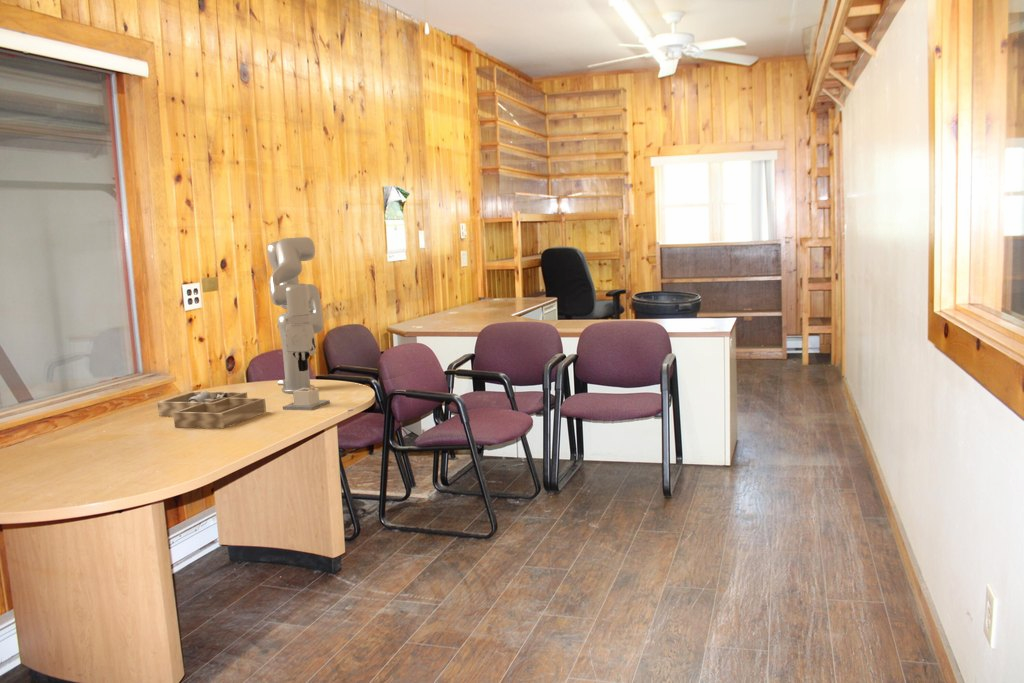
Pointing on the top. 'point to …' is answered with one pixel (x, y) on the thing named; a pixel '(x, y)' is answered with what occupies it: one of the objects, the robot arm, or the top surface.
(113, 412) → the top surface
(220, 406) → the tray
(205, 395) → the clip-on lamp
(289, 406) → the plate
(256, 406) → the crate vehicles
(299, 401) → the grey block
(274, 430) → the top surface
